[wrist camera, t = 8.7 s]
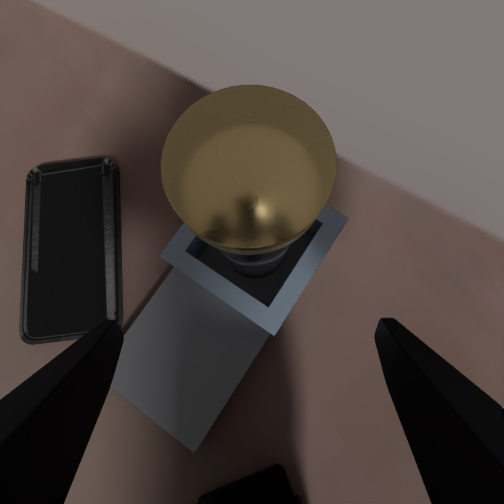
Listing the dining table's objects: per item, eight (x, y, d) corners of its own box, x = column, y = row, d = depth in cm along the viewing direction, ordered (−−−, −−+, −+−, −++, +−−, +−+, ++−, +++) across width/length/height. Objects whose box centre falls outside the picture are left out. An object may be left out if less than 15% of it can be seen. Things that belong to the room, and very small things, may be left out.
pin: (259, 297, 20) (257, 286, 7) (207, 253, 21) (124, 171, 8) (303, 245, 21) (372, 150, 8) (251, 203, 22) (239, 55, 9)
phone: (114, 156, 24) (118, 334, 21) (121, 162, 25) (125, 333, 22) (25, 167, 24) (16, 346, 21) (36, 173, 25) (28, 344, 22)
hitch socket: (199, 442, 20) (178, 487, 15) (107, 370, 21) (60, 389, 16) (329, 237, 23) (348, 218, 18) (241, 183, 24) (236, 151, 19)
